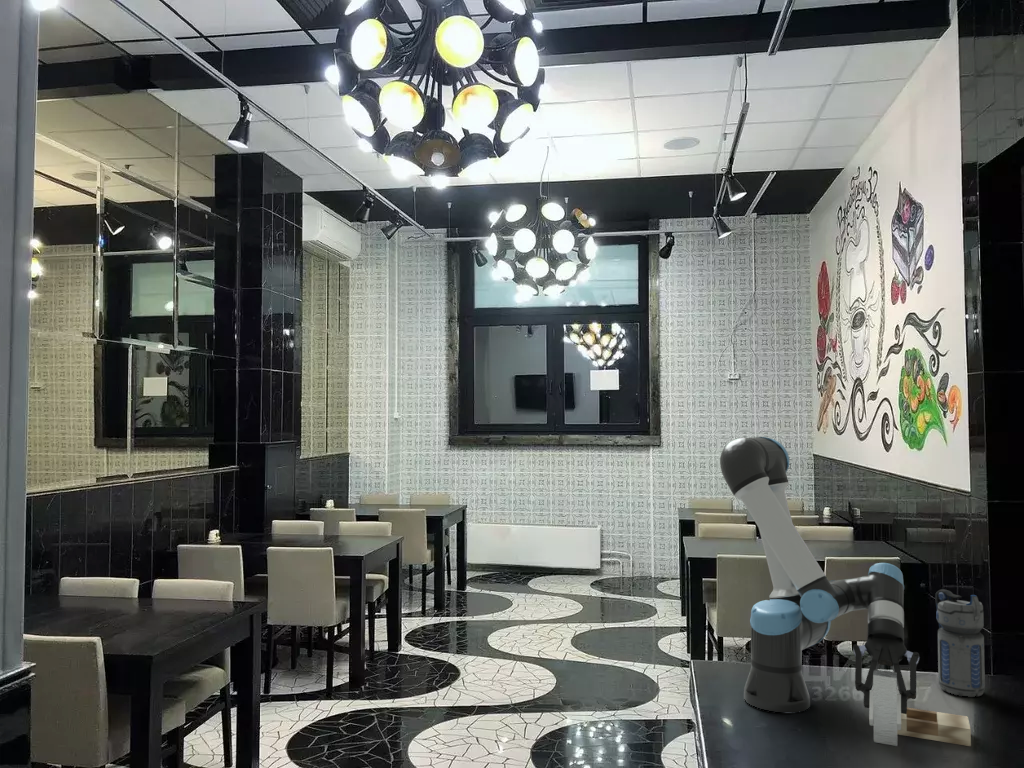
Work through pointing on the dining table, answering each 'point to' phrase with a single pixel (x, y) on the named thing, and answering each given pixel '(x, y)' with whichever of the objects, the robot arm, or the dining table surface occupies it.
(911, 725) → the foot beam
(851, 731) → the dining table surface
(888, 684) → the white square post
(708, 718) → the dining table surface
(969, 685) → the beverage bottle
